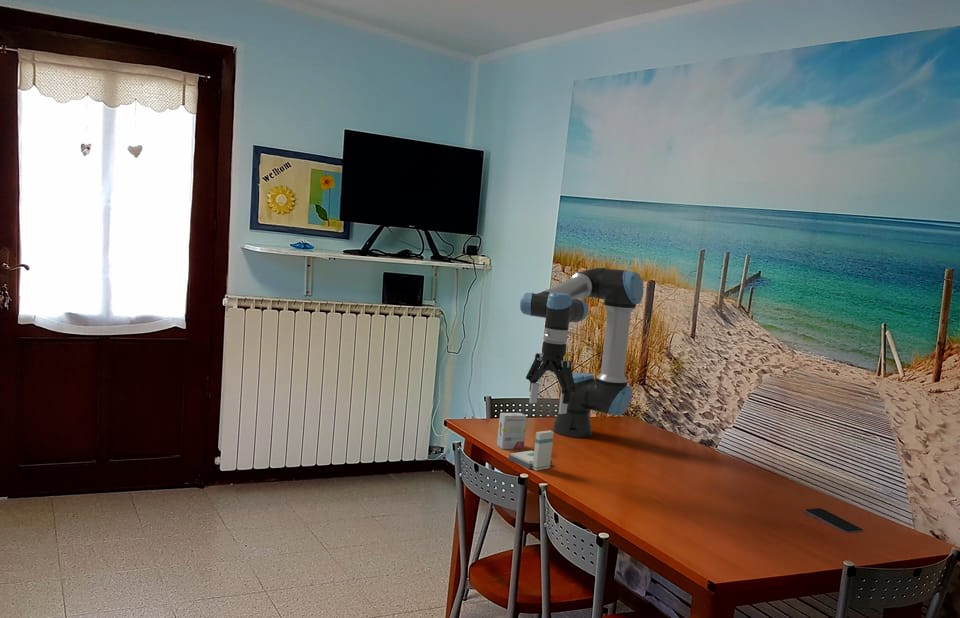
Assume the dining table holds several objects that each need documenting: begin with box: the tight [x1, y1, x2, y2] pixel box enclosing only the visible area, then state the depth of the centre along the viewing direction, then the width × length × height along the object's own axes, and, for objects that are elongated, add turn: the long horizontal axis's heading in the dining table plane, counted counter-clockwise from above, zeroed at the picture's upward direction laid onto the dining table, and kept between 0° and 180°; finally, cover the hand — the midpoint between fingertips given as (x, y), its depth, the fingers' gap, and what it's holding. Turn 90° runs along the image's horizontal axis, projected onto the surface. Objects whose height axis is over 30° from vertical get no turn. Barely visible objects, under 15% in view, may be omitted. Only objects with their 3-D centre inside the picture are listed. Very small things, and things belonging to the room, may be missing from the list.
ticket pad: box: [508, 450, 553, 470], centre depth 230 cm, size 10×10×2 cm
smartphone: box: [804, 507, 864, 534], centre depth 204 cm, size 7×1×15 cm
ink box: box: [496, 412, 528, 450], centre depth 245 cm, size 9×5×12 cm, turn 112°
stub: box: [531, 430, 555, 471], centre depth 224 cm, size 6×2×12 cm, turn 128°
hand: (547, 408), depth 223 cm, fingers open, 13 cm apart
